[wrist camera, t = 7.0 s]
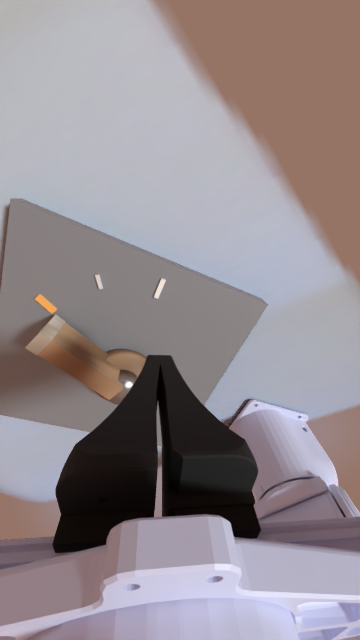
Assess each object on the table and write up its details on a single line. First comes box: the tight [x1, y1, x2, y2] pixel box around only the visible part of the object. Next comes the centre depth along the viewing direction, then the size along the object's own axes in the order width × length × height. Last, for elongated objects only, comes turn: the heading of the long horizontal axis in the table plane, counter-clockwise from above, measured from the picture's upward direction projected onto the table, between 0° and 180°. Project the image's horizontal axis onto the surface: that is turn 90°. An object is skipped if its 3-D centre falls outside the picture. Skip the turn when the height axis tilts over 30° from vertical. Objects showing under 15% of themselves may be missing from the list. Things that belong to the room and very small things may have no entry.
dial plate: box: [0, 199, 268, 446], centre depth 24 cm, size 22×22×2 cm
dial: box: [25, 315, 147, 405], centre depth 21 cm, size 12×6×3 cm, turn 42°
